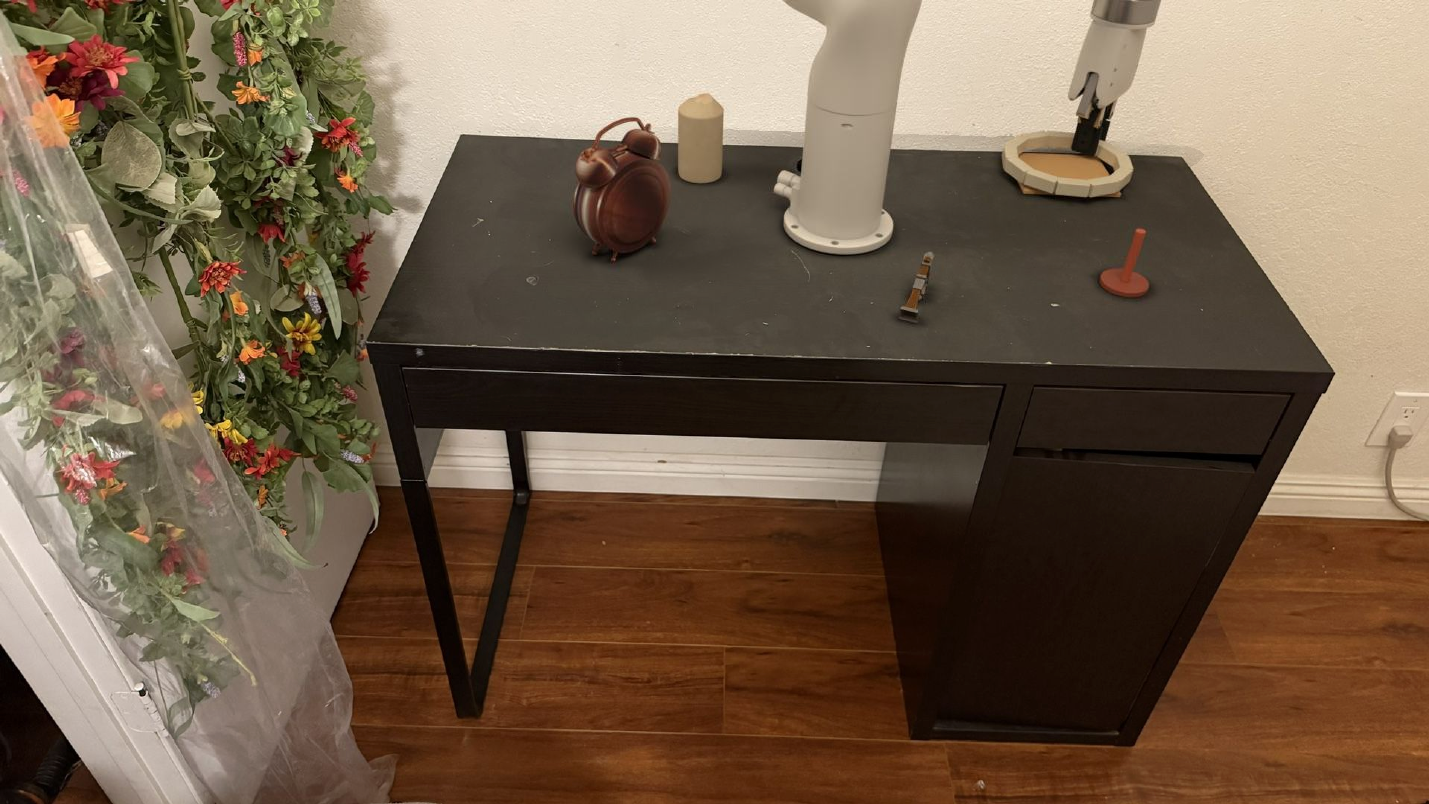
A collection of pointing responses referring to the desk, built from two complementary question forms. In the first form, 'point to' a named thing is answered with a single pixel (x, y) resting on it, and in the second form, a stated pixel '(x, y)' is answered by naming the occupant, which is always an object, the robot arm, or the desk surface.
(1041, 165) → the mat
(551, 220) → the desk surface
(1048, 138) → the ring
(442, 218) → the desk surface
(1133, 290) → the post
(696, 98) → the candle
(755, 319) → the desk surface
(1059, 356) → the desk surface
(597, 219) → the alarm clock
